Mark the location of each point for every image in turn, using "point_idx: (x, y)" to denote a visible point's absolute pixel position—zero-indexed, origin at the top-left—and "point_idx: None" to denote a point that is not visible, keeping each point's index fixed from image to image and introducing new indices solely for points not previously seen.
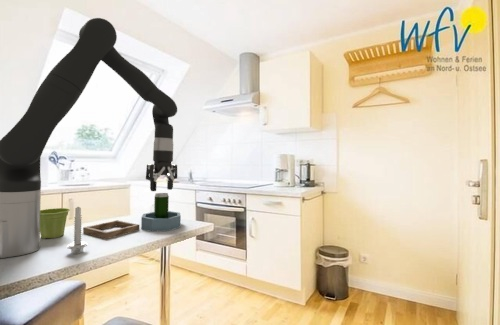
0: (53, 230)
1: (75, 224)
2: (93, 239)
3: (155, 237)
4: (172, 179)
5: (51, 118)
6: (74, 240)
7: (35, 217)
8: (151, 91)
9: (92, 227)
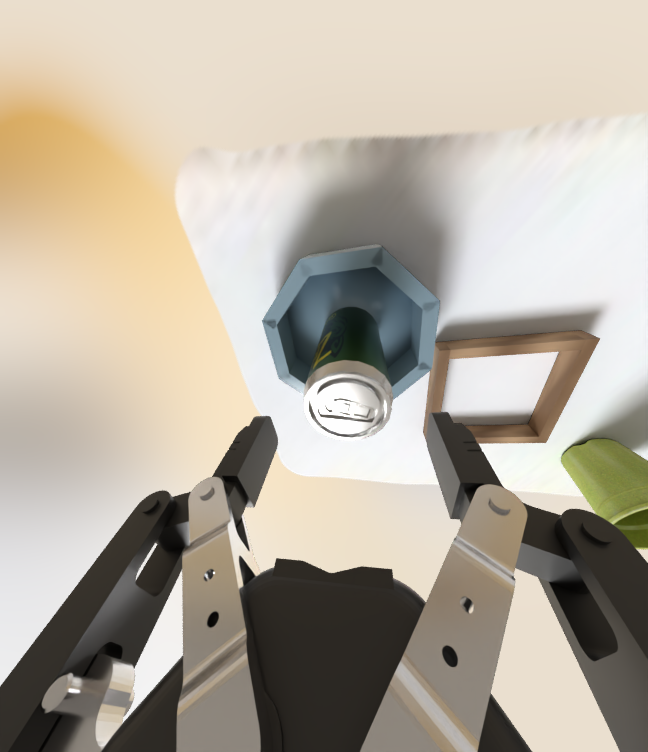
0: (636, 455)
1: None
2: (594, 357)
3: (495, 189)
4: (218, 486)
5: None
6: None
7: None
8: None
9: (520, 433)
